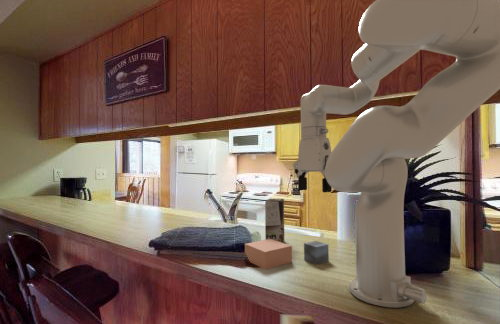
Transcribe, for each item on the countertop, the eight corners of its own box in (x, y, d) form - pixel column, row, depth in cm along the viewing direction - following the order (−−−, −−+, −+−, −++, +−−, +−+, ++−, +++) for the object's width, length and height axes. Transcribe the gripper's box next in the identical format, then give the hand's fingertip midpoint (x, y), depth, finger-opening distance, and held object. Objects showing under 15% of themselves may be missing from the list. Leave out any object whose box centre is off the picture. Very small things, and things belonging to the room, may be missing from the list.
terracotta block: (291, 263, 78) (291, 245, 79) (265, 270, 73) (264, 252, 73) (270, 254, 87) (270, 238, 87) (244, 260, 81) (244, 243, 81)
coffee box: (283, 246, 94) (282, 201, 95) (265, 246, 95) (264, 200, 96) (284, 240, 103) (284, 198, 104) (268, 239, 104) (267, 198, 105)
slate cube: (328, 261, 79) (328, 244, 79) (316, 264, 76) (316, 247, 76) (315, 256, 83) (315, 240, 83) (304, 260, 80) (304, 243, 81)
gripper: (345, 132, 76) (346, 192, 75) (302, 138, 90) (302, 188, 90) (327, 130, 72) (328, 193, 71) (285, 136, 86) (285, 189, 86)
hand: (314, 191), depth 80 cm, fingers open, 9 cm apart
